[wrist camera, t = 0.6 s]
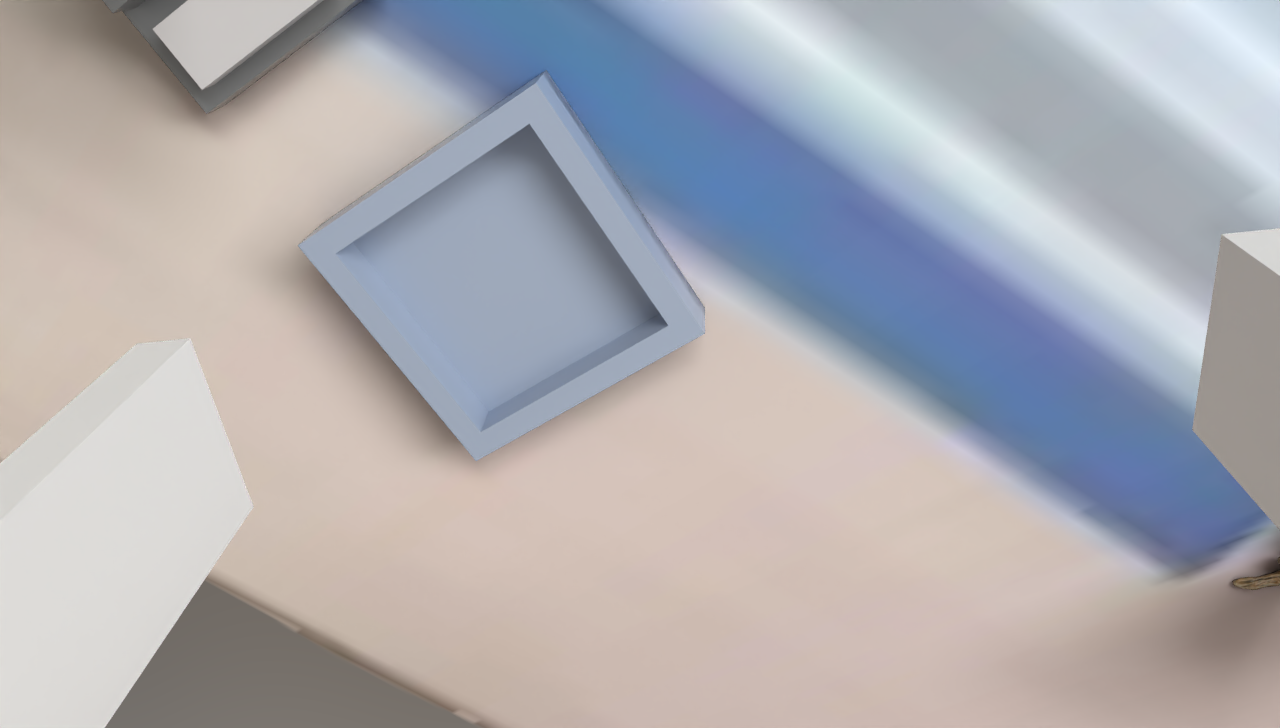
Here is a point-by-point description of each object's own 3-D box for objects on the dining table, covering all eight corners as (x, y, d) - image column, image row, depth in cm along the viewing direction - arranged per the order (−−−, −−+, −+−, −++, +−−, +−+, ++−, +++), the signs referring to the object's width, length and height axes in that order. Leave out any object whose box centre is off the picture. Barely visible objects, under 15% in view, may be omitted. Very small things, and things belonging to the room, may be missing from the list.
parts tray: (321, 224, 39) (297, 245, 36) (546, 70, 35) (535, 82, 33) (487, 430, 42) (476, 461, 40) (704, 307, 39) (704, 333, 37)
